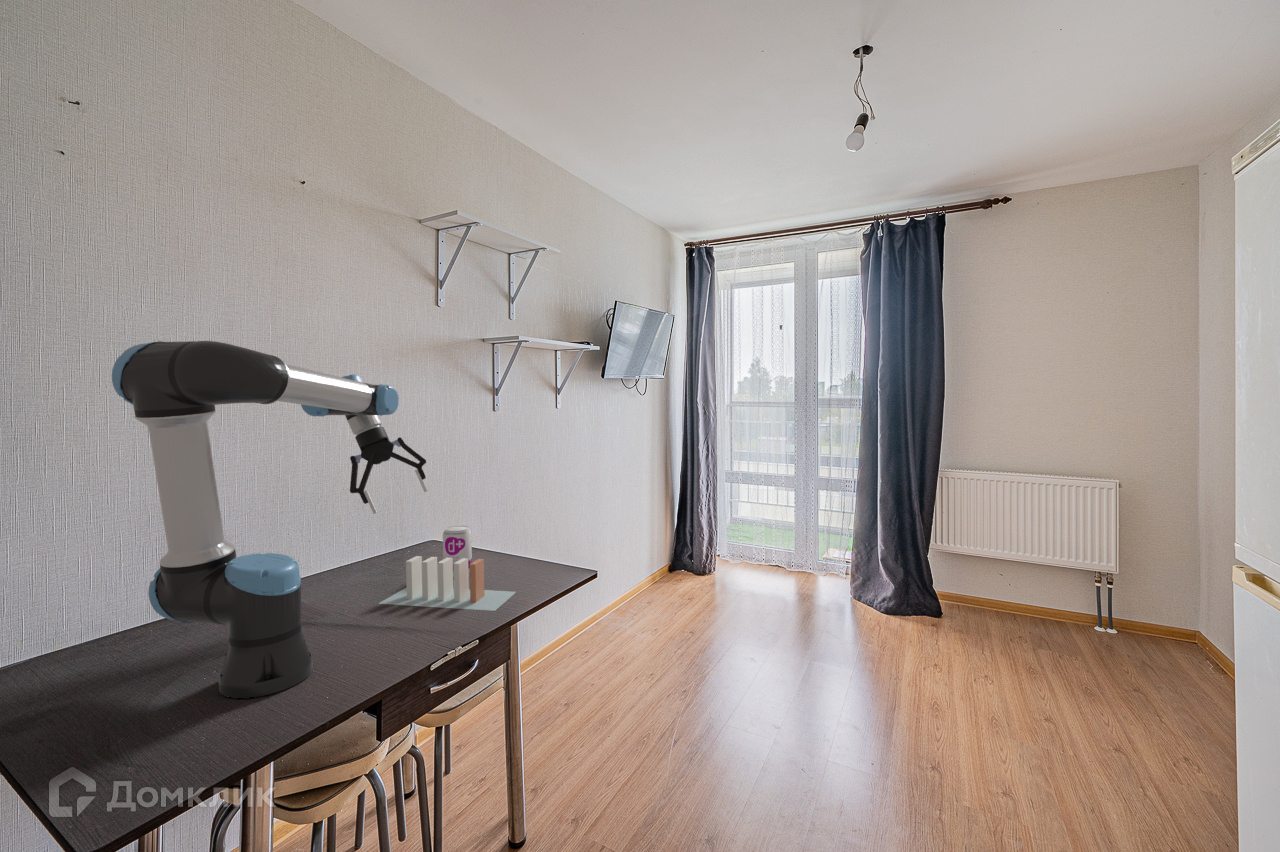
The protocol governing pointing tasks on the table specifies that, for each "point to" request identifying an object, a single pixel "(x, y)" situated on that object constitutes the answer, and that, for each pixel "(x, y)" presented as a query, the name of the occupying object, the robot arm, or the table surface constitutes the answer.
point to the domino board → (452, 600)
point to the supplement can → (457, 544)
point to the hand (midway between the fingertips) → (401, 502)
